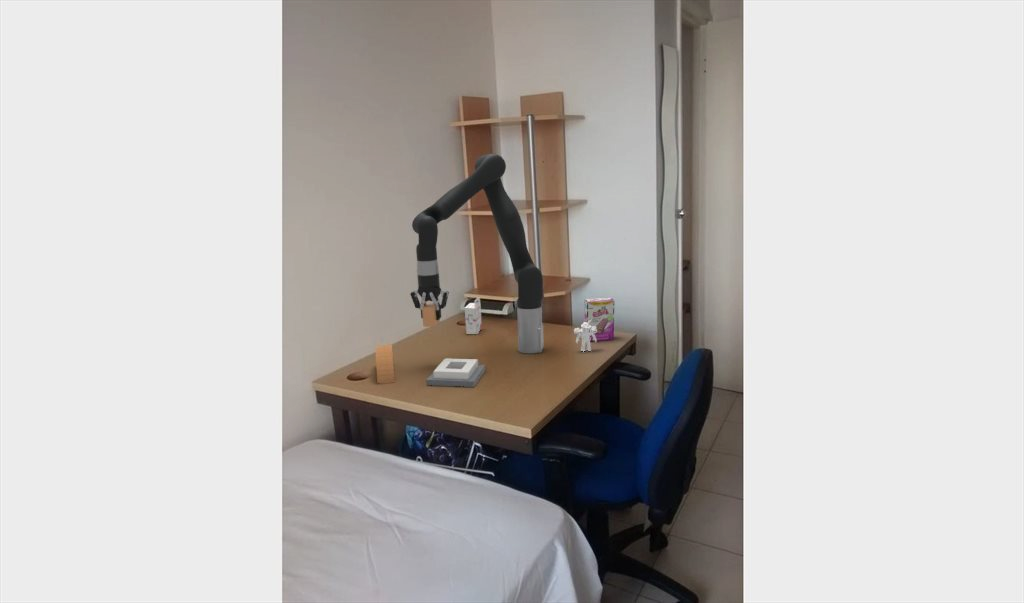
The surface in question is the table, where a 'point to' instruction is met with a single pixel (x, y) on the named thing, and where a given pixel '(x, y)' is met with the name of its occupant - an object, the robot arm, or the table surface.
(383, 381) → the arch
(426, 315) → the cardboard parcel
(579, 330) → the blocky character figurine
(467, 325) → the ink cartridge box
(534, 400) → the table surface
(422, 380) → the table surface
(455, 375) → the socket plate
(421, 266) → the robot arm
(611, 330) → the candy bar box
